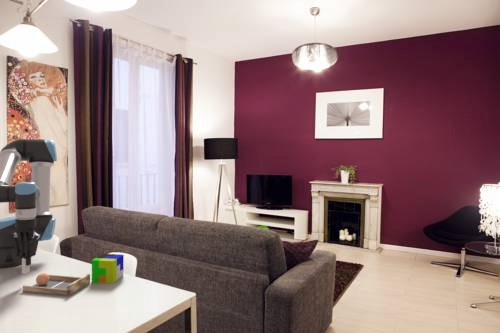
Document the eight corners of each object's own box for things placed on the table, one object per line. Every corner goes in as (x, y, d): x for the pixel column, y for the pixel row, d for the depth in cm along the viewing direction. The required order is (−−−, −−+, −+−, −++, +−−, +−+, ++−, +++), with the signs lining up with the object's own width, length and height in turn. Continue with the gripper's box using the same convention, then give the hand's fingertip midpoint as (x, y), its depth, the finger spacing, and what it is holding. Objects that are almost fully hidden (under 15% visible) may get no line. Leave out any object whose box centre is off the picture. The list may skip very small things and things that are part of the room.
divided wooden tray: (47, 278, 159) (47, 270, 158) (89, 282, 156) (89, 274, 155) (22, 290, 145) (22, 281, 145) (69, 294, 142) (69, 286, 142)
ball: (41, 282, 154) (41, 271, 154) (52, 283, 153) (52, 271, 153) (33, 286, 149) (33, 275, 149) (43, 287, 148) (43, 275, 148)
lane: (47, 279, 159) (47, 278, 159) (89, 283, 156) (89, 282, 156) (22, 291, 145) (22, 290, 145) (69, 296, 142) (69, 294, 142)
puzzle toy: (123, 275, 166) (123, 254, 166) (113, 283, 156) (113, 261, 156) (103, 274, 167) (103, 253, 167) (91, 282, 157) (91, 260, 157)
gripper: (5, 219, 148) (5, 274, 149) (32, 220, 146) (32, 276, 147) (19, 216, 156) (19, 268, 156) (45, 217, 154) (45, 270, 154)
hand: (25, 272), depth 152 cm, fingers closed
